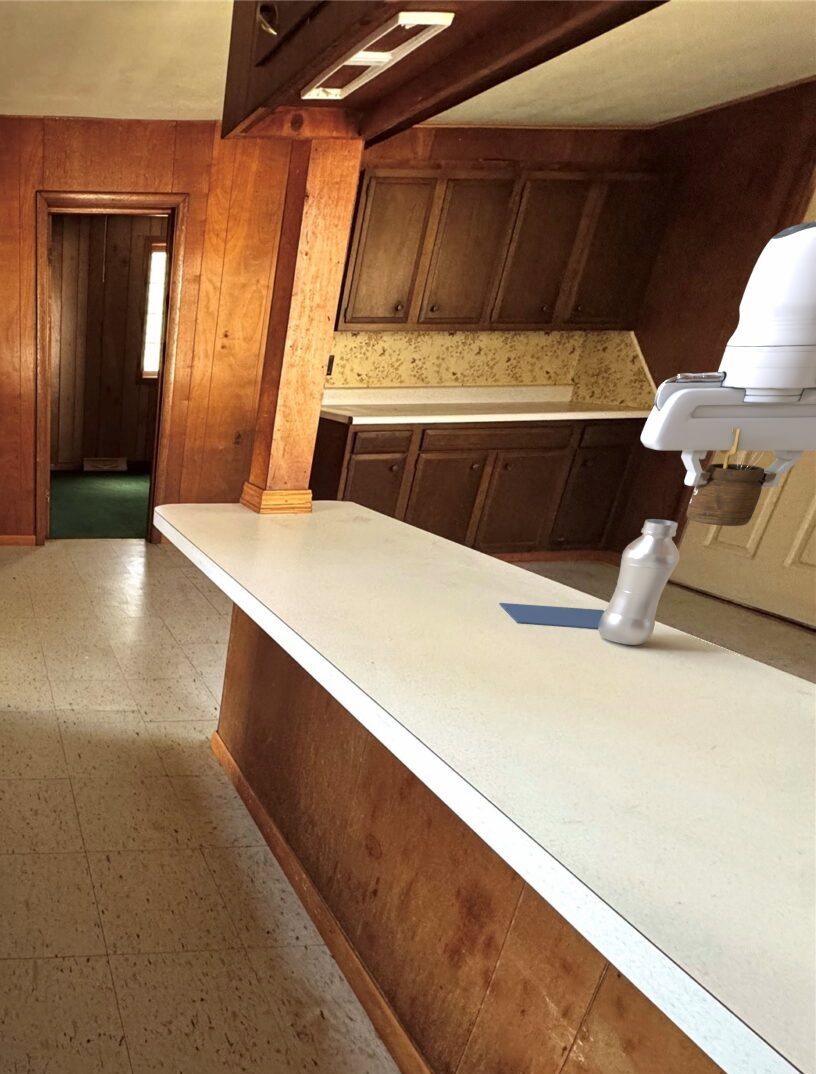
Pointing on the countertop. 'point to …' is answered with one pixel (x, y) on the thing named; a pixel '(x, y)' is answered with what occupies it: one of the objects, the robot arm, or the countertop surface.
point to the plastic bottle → (640, 584)
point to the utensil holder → (727, 492)
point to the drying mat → (554, 615)
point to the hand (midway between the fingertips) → (729, 485)
